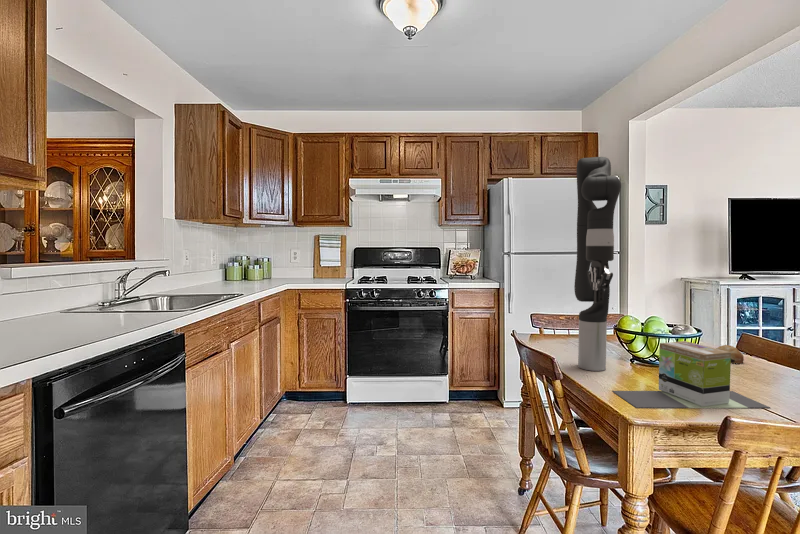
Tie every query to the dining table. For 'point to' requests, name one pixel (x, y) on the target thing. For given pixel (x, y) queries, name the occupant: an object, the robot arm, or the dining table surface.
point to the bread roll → (733, 353)
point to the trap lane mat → (681, 400)
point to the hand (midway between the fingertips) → (598, 303)
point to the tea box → (695, 372)
